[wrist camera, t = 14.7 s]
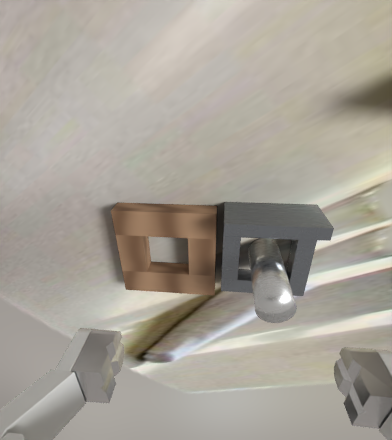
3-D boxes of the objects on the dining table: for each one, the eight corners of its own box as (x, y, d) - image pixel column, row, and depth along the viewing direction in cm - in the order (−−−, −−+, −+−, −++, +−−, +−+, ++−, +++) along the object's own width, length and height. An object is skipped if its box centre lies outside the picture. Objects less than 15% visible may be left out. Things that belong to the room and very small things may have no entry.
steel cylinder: (247, 261, 40) (253, 321, 30) (249, 237, 37) (257, 292, 28) (276, 263, 39) (292, 324, 30) (281, 238, 37) (299, 295, 27)
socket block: (130, 278, 44) (125, 289, 41) (117, 202, 37) (110, 210, 35) (214, 283, 42) (214, 295, 40) (217, 205, 36) (216, 214, 33)
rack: (221, 279, 42) (220, 308, 36) (224, 202, 35) (224, 224, 30) (299, 284, 41) (309, 315, 35) (317, 204, 34) (333, 228, 29)
